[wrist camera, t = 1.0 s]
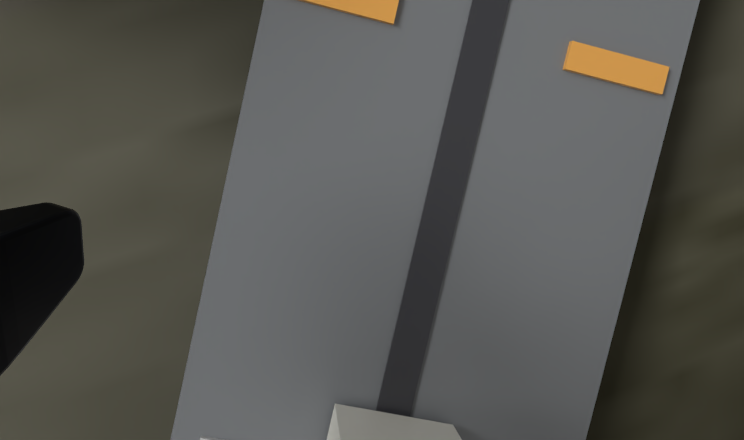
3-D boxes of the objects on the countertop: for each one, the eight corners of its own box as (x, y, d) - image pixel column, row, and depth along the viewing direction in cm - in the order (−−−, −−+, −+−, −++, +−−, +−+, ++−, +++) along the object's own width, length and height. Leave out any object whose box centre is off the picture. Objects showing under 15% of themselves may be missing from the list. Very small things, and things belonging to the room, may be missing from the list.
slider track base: (511, 600, 22) (534, 648, 20) (153, 548, 20) (136, 595, 18) (685, -80, 20) (732, -108, 18) (312, -194, 19) (314, -240, 17)
